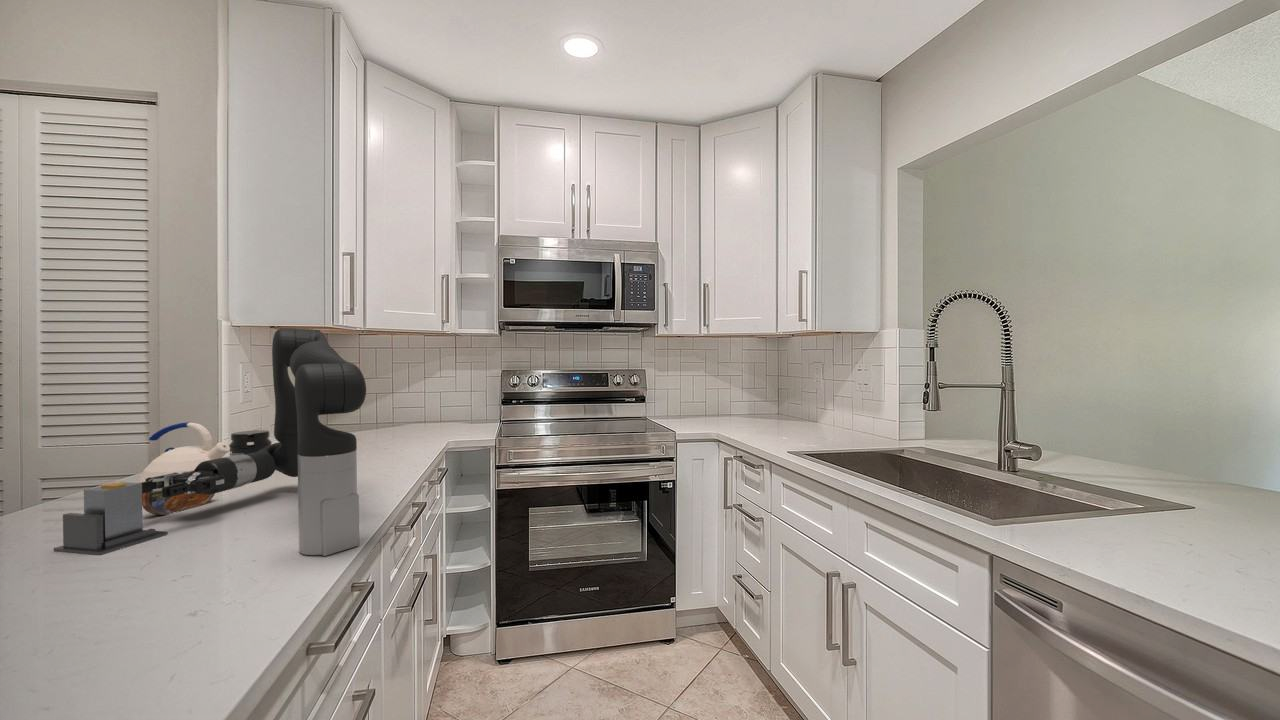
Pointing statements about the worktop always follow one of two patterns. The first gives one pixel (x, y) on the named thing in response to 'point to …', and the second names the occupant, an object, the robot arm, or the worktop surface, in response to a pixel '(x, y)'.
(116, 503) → the metal block with pad
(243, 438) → the supplement container
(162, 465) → the kettle
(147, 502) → the tin
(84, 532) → the bracket
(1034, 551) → the worktop surface
